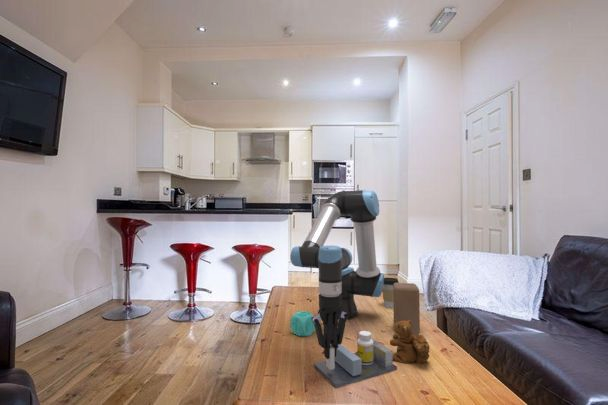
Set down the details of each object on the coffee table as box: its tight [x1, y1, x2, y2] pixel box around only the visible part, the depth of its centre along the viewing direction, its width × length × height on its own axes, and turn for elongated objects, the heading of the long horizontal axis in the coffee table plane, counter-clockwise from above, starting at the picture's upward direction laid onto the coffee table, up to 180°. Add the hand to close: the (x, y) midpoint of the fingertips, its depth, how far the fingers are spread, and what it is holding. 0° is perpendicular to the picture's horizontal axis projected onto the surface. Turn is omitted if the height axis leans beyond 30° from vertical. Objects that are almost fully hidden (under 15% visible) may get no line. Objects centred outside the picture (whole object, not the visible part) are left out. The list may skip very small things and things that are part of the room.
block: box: [392, 282, 421, 336], centre depth 133 cm, size 10×10×20 cm
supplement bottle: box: [356, 330, 374, 365], centre depth 104 cm, size 5×5×10 cm
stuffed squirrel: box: [389, 320, 430, 364], centre depth 108 cm, size 10×14×13 cm
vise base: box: [313, 337, 398, 389], centre depth 101 cm, size 14×24×6 cm, turn 116°
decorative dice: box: [289, 310, 315, 337], centre depth 131 cm, size 8×8×8 cm
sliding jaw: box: [335, 344, 361, 376], centre depth 100 cm, size 12×4×5 cm, turn 26°
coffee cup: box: [382, 277, 400, 309], centre depth 167 cm, size 10×10×15 cm
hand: (330, 367), depth 97 cm, fingers closed
